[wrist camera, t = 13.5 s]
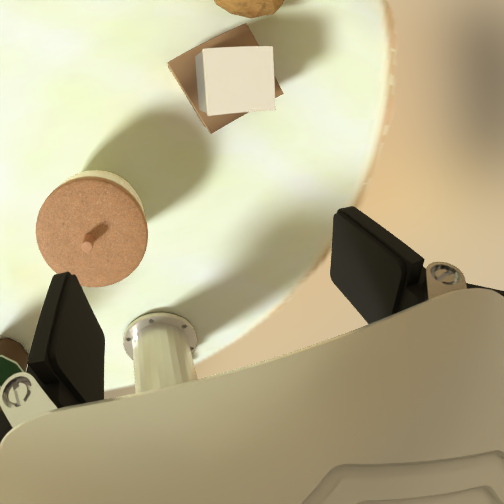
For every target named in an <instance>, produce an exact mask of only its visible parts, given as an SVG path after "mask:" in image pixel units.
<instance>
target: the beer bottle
mask: <svg viewBox="0 0 504 504" xmlns="http://www.w3.org/2000/svg"><path fill="white" fill-rule="evenodd" d="M28 357H29V356H28V354H27V352H26V351H25V349H24V348H23V346H22V345H21V344H20V343H18V342H15V341H13V340H12V339H10V338H4V339H0V389H1V387H2V385H3V384H4V382H5V381H6V380H7V379H8V378H9V377H11V376H12V375H14V374H16V373H19V372H26V368H27V363H28ZM1 410H2V408H1V406H0V411H1Z"/></svg>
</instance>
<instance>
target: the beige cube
mask: <svg viewBox="0 0 504 504" xmlns="http://www.w3.org/2000/svg"><path fill="white" fill-rule="evenodd" d="M195 64H196V77H197V89H198V101H199V110H201V111H203V112H205V113H207V115H208V116H212V115H221V114H230V113H241V112H252V111H266V110H276V109H275V83H274V60H273V46H244V47H221V48H206V49H203V50H202V52H201V53H199V54H198V55H196V56H195Z"/></svg>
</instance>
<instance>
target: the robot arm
mask: <svg viewBox="0 0 504 504" xmlns="http://www.w3.org/2000/svg"><path fill="white" fill-rule="evenodd" d="M423 263H424V259H423V258H422V257H421V256H420V255H419V254H417V253H416V252H415V251H414V250H412V249H411V248H410V247H408V246H407V245H406V244H405V243H403V242H402V241H401V240H399V239H398V238H396V237H395V236H394V235H393V234H391V233H390V232H389V231H387V230H386V229H384V228H383V227H382V226H380V225H379V224H378V223H376V222H375V221H374V220H372V219H371V218H369V217H368V216H367V215H365V214H364V213H362V212H361V211H359V210H358V209H357V208H355V207H353V206H351V207H346V208H341V209H339V210H338V211H337V213H336V214H335V215H334V218H333V238H332V255H331V269H330V276H331V279H332V281H333V283H334V284H335V285H336V286H337V287H338V288H339V290H340V291H341V292H342V293H343V294H344V296H345V297H346V298H347V299H348V300H349V301H350V302H351V304H352V305H353V306H354V307H355V308H356V309H357V311H358V312H359V313H360V314H361V315H362V317H363V318H364V319H365V320H366V321H367V323H368V325H366V326H363V327H361V328H358V329H356V330H353V331H350V332H348V333H345V334H342V335H340V336H337V337H334V338H331V339H329V340H326V341H323V342H320V343H317V344H315V345H311V346H309V347H306V348H303V349H300V350H297V351H294V352H291V353H288V354H285V355H282V356H279V357H275V358H272V359H269V360H266V361H262V362H259V363H256V364H253V365H249V366H246V367H242V368H238V369H235V370H232V371H228V372H224V373H221V374H217V375H213V376H209V377H205V378H201V379H197V375H196V371H195V367H194V363H193V359H192V353H193V352H194V350H195V348H196V345H197V336H196V332H195V329H194V328H193V326H192V325H191V324H190V323H189V322H188V321H187V320H186V319H184V318H183V317H180V316H178V315H175V314H171V313H163V312H160V313H151V314H147V315H144V316H141V317H139V318H137V319H136V320H134V321H133V322H132V323H131V324H130V325H129V326H128V327H127V329H126V331H125V333H124V338H123V345H124V349H125V351H126V353H127V355H128V356H129V357H130V358H131V359H132V360H133V361H134V376H135V389H136V393H135V394H130V395H125V396H120V397H115V398H109V399H104V351H105V337H104V334H103V331H102V329H101V327H100V325H99V323H98V321H97V319H96V317H95V315H94V313H93V311H92V309H91V307H90V305H89V303H88V300H87V298H86V296H85V294H84V292H83V290H82V287H81V285H80V283H79V281H78V278H77V276H76V275H75V274H73V275H71V273H70V272H64V273H60V274H56V275H54V276H53V278H52V281H51V283H50V286H49V289H48V292H47V295H46V298H45V301H44V305H43V308H42V311H41V314H40V318H39V321H38V324H37V328H36V332H35V335H34V339H33V343H32V347H31V351H30V355H29V359H28V363H27V364H28V367H27V371H26V372H19V373H16V374H14V375H12V376H11V377H9V378H8V379H7V380H6V381H5V382H4V384H3V385H2V387H1V389H0V406H1V408H2V410H1V411H0V504H504V291H500V290H495V289H491V288H486V287H482V286H476V285H472V284H468V283H466V282H465V278H464V275H463V273H462V272H461V271H460V270H459V269H458V268H457V267H455V266H453V265H451V264H448V263H444V262H434V263H431V264H429V265H428V266H427V268H426V269H425V268H424V267H423Z"/></svg>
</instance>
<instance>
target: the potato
mask: <svg viewBox="0 0 504 504" xmlns="http://www.w3.org/2000/svg"><path fill="white" fill-rule="evenodd" d="M214 1H215V3H216V4H217V5H218V6H220V7H222V8H223V9H225V10H226V11H228V12H229V13H231V14H235V15H239V16H244V17H248V18H255V17H259V16H264V15H271V14H274V13H275V12H276V10H277V9H278V8H279V7H280V6H281V5H282V4H283V1H284V0H214Z"/></svg>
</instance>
